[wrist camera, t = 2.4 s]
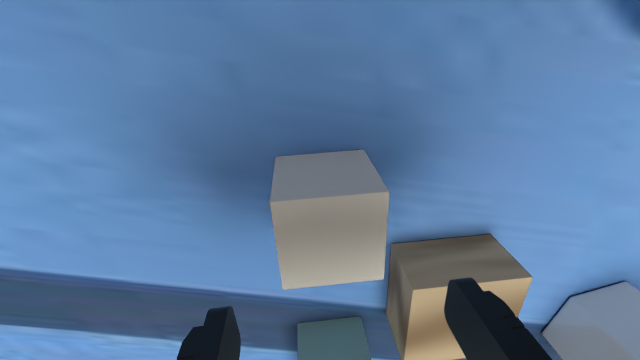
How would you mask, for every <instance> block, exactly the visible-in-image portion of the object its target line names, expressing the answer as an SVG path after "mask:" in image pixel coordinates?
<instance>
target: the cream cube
mask: <svg viewBox="0 0 640 360" xmlns="http://www.w3.org/2000/svg"><path fill="white" fill-rule="evenodd" d="M388 206H389V190H388V188H387V187H386V185H385V184H384V182H383V180H382V179H381V177H380V175H379V174H378V172H377V170H376V169H375V167H374V165H373V164H372V162H371V161H370V159H369V157H368V156H367V154H366V152H365V151H364V150H352V151H339V152H327V153H314V154H302V155H289V156H277V157H275V164H274V172H273V180H272V188H271V196H270V207H271V214H272V221H273V227H274V234H275V241H276V247H277V254H278V261H279V267H280V274H281V281H282V287H283V290H286V289H296V288H305V287H315V286H324V285H334V284H343V283H353V282H362V281H372V280H381V279H384V268H385V252H386V237H387V222H388Z"/></svg>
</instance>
